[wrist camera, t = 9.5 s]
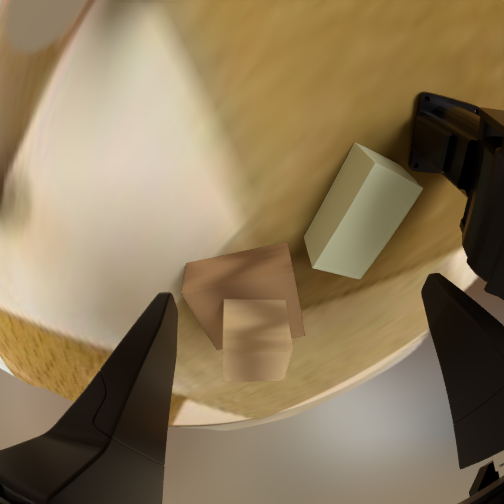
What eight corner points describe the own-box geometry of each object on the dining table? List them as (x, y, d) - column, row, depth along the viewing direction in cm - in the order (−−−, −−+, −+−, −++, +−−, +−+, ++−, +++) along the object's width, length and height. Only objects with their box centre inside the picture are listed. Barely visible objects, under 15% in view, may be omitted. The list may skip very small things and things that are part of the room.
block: (398, 164, 20) (423, 188, 17) (346, 248, 26) (359, 279, 22) (353, 141, 19) (375, 162, 16) (303, 235, 24) (312, 268, 21)
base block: (286, 239, 25) (293, 271, 22) (299, 304, 31) (305, 335, 27) (187, 260, 26) (181, 293, 23) (218, 319, 32) (217, 349, 29)
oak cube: (285, 299, 24) (293, 351, 20) (277, 333, 27) (283, 380, 23) (223, 299, 23) (222, 352, 20) (224, 333, 27) (224, 381, 23)
